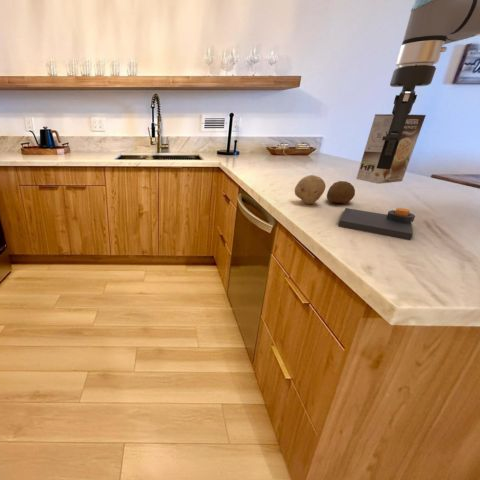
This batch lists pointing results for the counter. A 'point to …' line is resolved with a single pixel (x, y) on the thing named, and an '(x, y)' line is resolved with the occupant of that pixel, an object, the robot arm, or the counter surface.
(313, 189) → the light tan potato
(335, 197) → the potato
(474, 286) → the counter surface
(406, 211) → the tare button
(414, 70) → the robot arm
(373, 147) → the coffee box
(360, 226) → the scale
